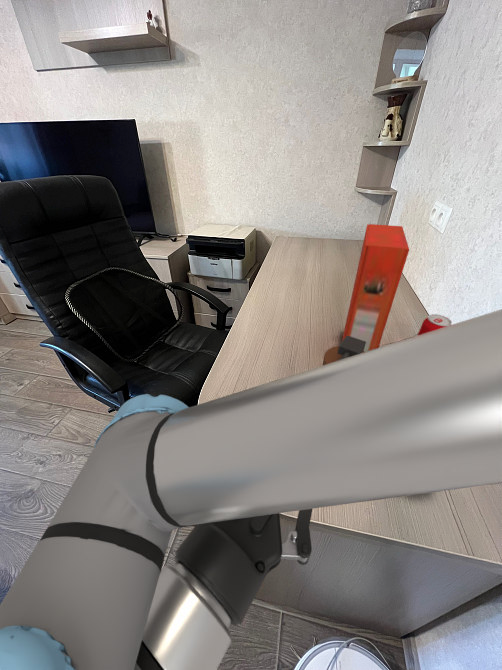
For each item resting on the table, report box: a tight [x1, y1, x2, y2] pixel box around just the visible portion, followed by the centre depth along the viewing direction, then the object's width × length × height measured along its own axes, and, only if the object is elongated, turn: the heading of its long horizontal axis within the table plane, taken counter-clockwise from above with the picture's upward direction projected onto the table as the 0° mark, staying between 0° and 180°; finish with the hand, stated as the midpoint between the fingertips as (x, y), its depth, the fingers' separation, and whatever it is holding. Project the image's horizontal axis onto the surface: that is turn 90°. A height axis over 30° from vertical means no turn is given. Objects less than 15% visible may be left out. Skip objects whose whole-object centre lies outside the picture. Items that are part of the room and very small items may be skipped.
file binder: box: [341, 223, 410, 352], centre depth 68 cm, size 8×17×32 cm, turn 160°
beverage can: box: [416, 313, 452, 336], centre depth 72 cm, size 6×6×12 cm
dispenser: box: [321, 335, 366, 366], centre depth 51 cm, size 10×9×22 cm
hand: (318, 410), depth 39 cm, fingers closed
